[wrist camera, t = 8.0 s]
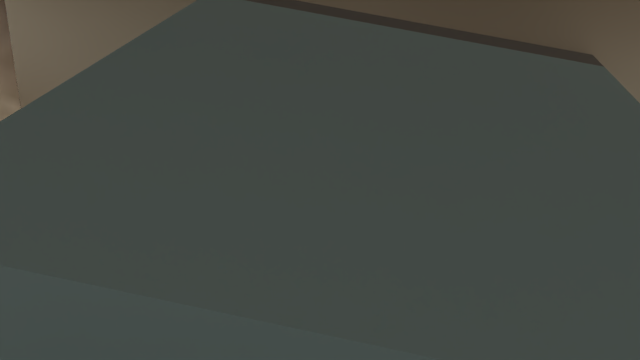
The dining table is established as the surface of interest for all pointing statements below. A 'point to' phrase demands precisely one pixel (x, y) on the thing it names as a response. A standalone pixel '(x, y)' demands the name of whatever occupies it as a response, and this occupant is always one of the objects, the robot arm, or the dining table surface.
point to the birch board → (400, 3)
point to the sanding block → (322, 197)
